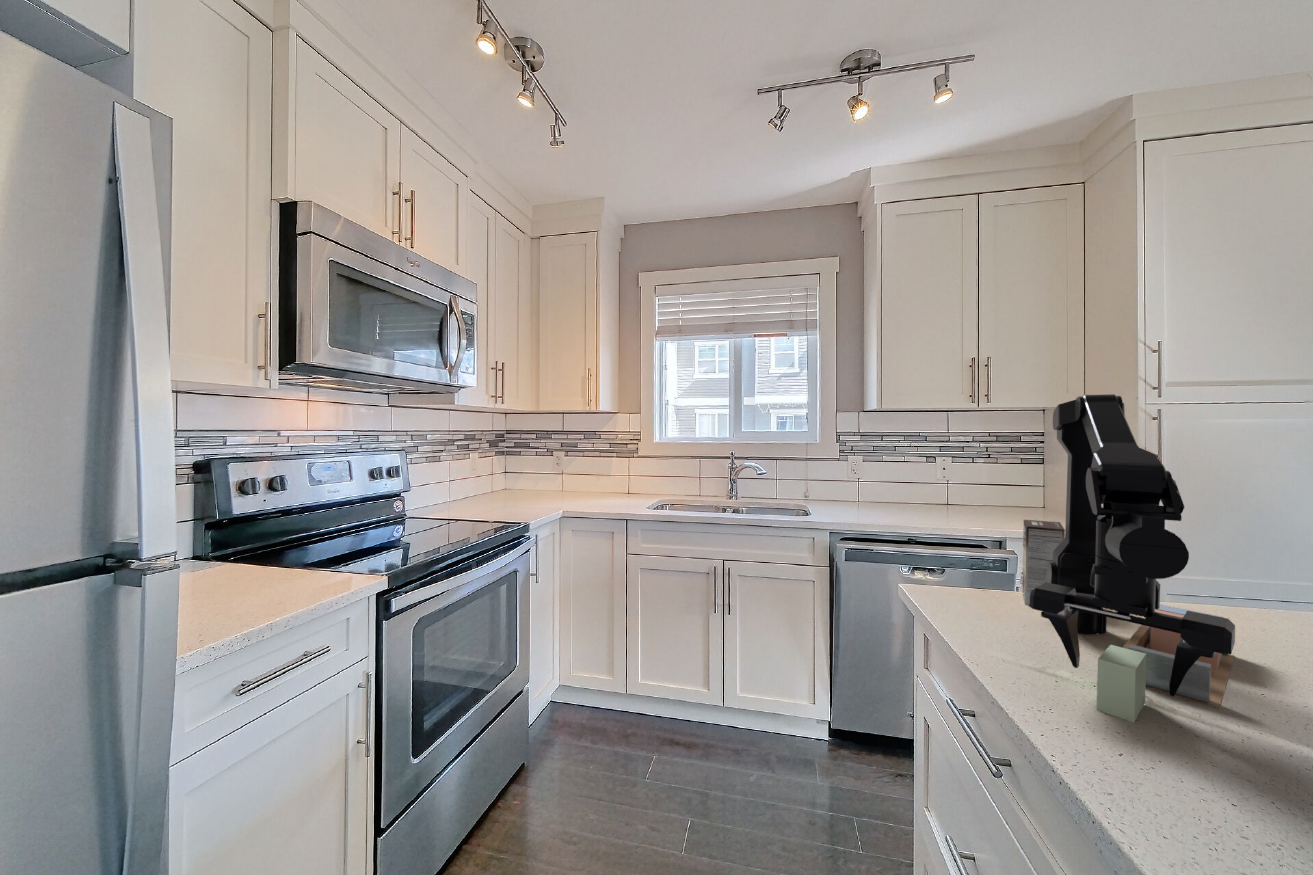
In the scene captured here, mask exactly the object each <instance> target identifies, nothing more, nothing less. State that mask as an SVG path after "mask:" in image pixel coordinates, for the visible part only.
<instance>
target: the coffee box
mask: <svg viewBox="0 0 1313 875" xmlns="http://www.w3.org/2000/svg"><path fill="white" fill-rule="evenodd" d="M1022 532H1023V534H1022V535H1023V536H1022V537H1023V538H1022V539H1023V540H1022V579H1021V580H1022V582H1021V583H1022V584H1021V585H1022V588H1021V590H1022V591H1021V592H1022V596H1023V601H1024V604H1025V605H1027V606H1030V593H1031V591H1032V590H1033V589H1035V588H1037V587H1038V586H1040V585H1042V584H1043V583H1045V576H1046V572H1047V569H1048V565H1049V562H1053V551H1054V550H1055V549H1056V548H1057V546H1058V545H1059V544H1060V543H1061V542H1062V541H1063V540H1064V539H1065V528H1064V526H1063V524H1062V523H1061V522H1060V521H1046V520H1038V519H1037V520H1036V519H1035V520H1034V519H1033V520H1032V519H1023V531H1022ZM1023 593H1024V594H1023Z"/></svg>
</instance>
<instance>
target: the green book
mask: <svg viewBox="0 0 1313 875" xmlns="http://www.w3.org/2000/svg"><path fill="white" fill-rule="evenodd" d="M1096 676H1097V681H1096V686H1097V687H1096V710H1097V711H1100V712H1103V713H1105V714H1108V715H1110V716H1111V715H1112V716H1115V717H1117V718H1120V719H1123V720H1126V721H1129V722H1132V723H1135V721H1136V720H1137V718H1138V717H1139V714H1140V712H1141V711H1142V709H1143V707H1144V706H1145V705H1146V704H1145V703H1146V687H1145V684H1146V654H1145V653H1141V652H1137V651H1133V650H1129V649H1126V648H1123V647H1121V646H1117V645H1114V644H1110V645H1108V647H1107V648H1106V649H1105V651H1103V653H1102V654H1101V655H1100V656H1099V657H1098V658H1097V675H1096Z"/></svg>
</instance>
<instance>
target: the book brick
mask: <svg viewBox="0 0 1313 875" xmlns="http://www.w3.org/2000/svg"><path fill="white" fill-rule="evenodd" d="M1155 612H1157V613H1162V614H1167V615H1172V616H1176V617H1181V618H1183V617H1184V615H1181V614H1176V613H1171V612H1166V611H1161V610H1156V609H1155ZM1180 640H1181V634H1180V633H1175V632H1171V631H1167V630H1162V629H1158V628H1153V627H1151V637H1150V649H1152V650H1156V651H1160V652H1164V653H1168V654H1172V655H1175V653H1176V648H1177V645H1178V643H1179V641H1180ZM1197 661H1200V662H1204V663H1208V664H1211V668H1212V669H1216V670H1217V669H1218V666H1219V663H1220V653H1217V652H1216V653H1215V656H1214V658H1208V657H1203V656H1201V657H1199V659H1198V660H1197Z"/></svg>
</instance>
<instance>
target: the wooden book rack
mask: <svg viewBox="0 0 1313 875" xmlns="http://www.w3.org/2000/svg"><path fill="white" fill-rule="evenodd" d="M1150 637H1151V627H1149V626H1144V625H1140V626H1139V627H1138V628H1137V629H1136V631H1135V632H1134V633H1133V634H1132V635H1131V637H1130V638H1129V639H1128V640H1127V642H1125V644H1124V645H1123V647H1122V648H1126V649H1129V646H1130V645H1131V644H1132V645H1136V646H1140V647H1144V648H1148V649H1150ZM1234 659H1235V655H1233V654H1222V657H1221V660H1220V663H1219V666H1218V669H1217V670H1216V669H1212V668H1211V689H1210V701H1209V703H1206V702H1203V701H1199V700H1196V699H1193V698H1189V697H1186V696H1182V695H1179V694H1175V696H1174V697H1177V698H1180V699H1183V700H1186V701H1187V700H1188V701H1191V702H1195V703H1198V704H1201V705H1204V706H1207V707H1212V708H1215V709H1220V707H1221V703H1222V701H1223V696H1224V694H1225V691H1226V687H1227V685H1228V684H1227V683H1228V680H1229V676H1230V673H1231V670H1232V666H1233V664H1234V663H1233V662H1234ZM1145 689H1150V690H1153V691H1158V692H1161V693H1163V694H1168V695H1169V692H1168V691H1165V690H1162V689H1158V688H1155V687H1151V686H1148V685H1145Z"/></svg>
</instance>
